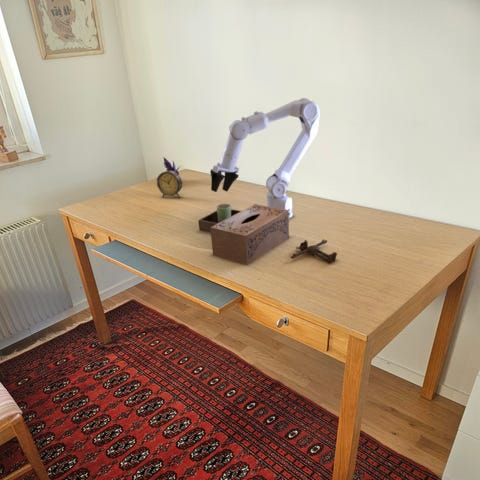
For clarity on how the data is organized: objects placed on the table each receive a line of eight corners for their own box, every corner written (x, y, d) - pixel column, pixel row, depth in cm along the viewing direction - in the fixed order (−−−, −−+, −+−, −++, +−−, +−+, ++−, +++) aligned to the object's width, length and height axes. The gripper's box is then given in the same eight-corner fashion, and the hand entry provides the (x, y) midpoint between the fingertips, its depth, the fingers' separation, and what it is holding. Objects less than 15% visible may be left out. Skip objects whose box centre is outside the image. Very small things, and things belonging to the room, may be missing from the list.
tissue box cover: (255, 229, 168) (255, 204, 162) (288, 237, 160) (288, 210, 155) (212, 255, 151) (210, 227, 145) (247, 264, 143) (245, 235, 138)
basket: (252, 224, 173) (252, 212, 170) (230, 238, 162) (229, 226, 160) (222, 218, 180) (221, 207, 177) (199, 231, 169) (198, 220, 167)
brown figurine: (315, 263, 135) (281, 245, 144) (314, 275, 138) (280, 257, 146) (351, 244, 145) (317, 229, 153) (349, 256, 147) (315, 240, 156)
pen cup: (234, 225, 171) (233, 204, 167) (226, 229, 168) (225, 209, 163) (223, 222, 174) (222, 202, 170) (215, 227, 170) (213, 207, 166)
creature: (189, 179, 228) (186, 155, 222) (163, 189, 217) (159, 163, 211) (177, 177, 233) (174, 153, 227) (151, 186, 222) (147, 161, 215)
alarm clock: (158, 198, 206) (153, 162, 197) (163, 194, 210) (158, 159, 201) (180, 199, 203) (175, 162, 194) (185, 195, 207) (180, 159, 198)
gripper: (232, 151, 169) (221, 186, 175) (210, 149, 157) (200, 186, 164) (247, 159, 167) (235, 193, 173) (226, 157, 155) (214, 194, 161)
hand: (219, 190), depth 168 cm, fingers open, 7 cm apart
